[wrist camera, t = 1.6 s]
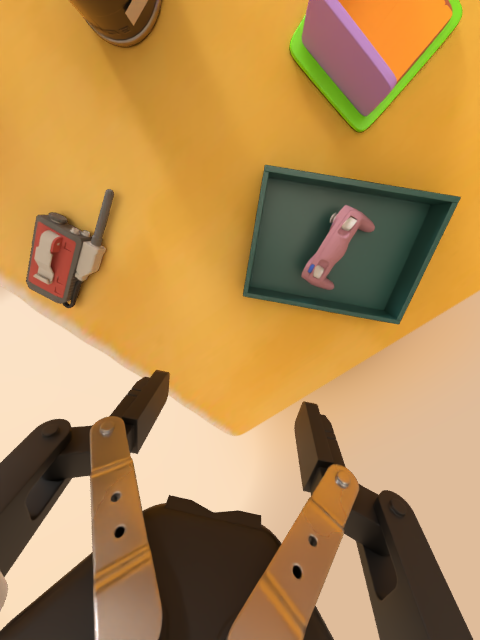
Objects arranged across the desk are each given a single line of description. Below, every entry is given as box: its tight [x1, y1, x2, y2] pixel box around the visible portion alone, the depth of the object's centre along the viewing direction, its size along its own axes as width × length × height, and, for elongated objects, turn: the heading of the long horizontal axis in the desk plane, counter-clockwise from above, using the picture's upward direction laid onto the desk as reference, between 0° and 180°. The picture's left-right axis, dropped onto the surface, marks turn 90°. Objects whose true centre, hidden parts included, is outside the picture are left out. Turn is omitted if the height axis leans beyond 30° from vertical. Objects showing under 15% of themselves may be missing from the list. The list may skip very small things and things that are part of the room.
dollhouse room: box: [290, 0, 462, 132], centre depth 20 cm, size 12×12×7 cm
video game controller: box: [301, 205, 375, 290], centre depth 28 cm, size 10×5×7 cm, turn 154°
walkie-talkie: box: [26, 189, 114, 308], centre depth 32 cm, size 9×4×20 cm
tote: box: [243, 165, 461, 324], centre depth 29 cm, size 15×21×4 cm
